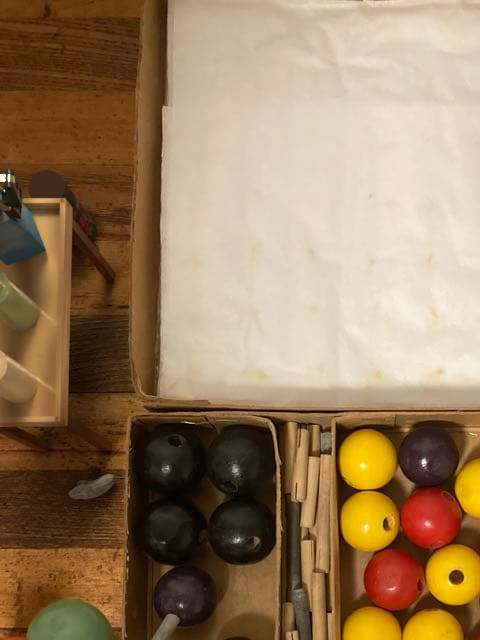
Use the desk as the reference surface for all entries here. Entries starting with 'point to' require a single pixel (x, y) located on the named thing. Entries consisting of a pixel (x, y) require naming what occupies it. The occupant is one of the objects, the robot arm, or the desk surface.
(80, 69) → the desk surface
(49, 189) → the deodorant
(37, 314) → the sage bottle
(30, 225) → the perfume bottle
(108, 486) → the fossil
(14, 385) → the cream bottle
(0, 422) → the tray stand
